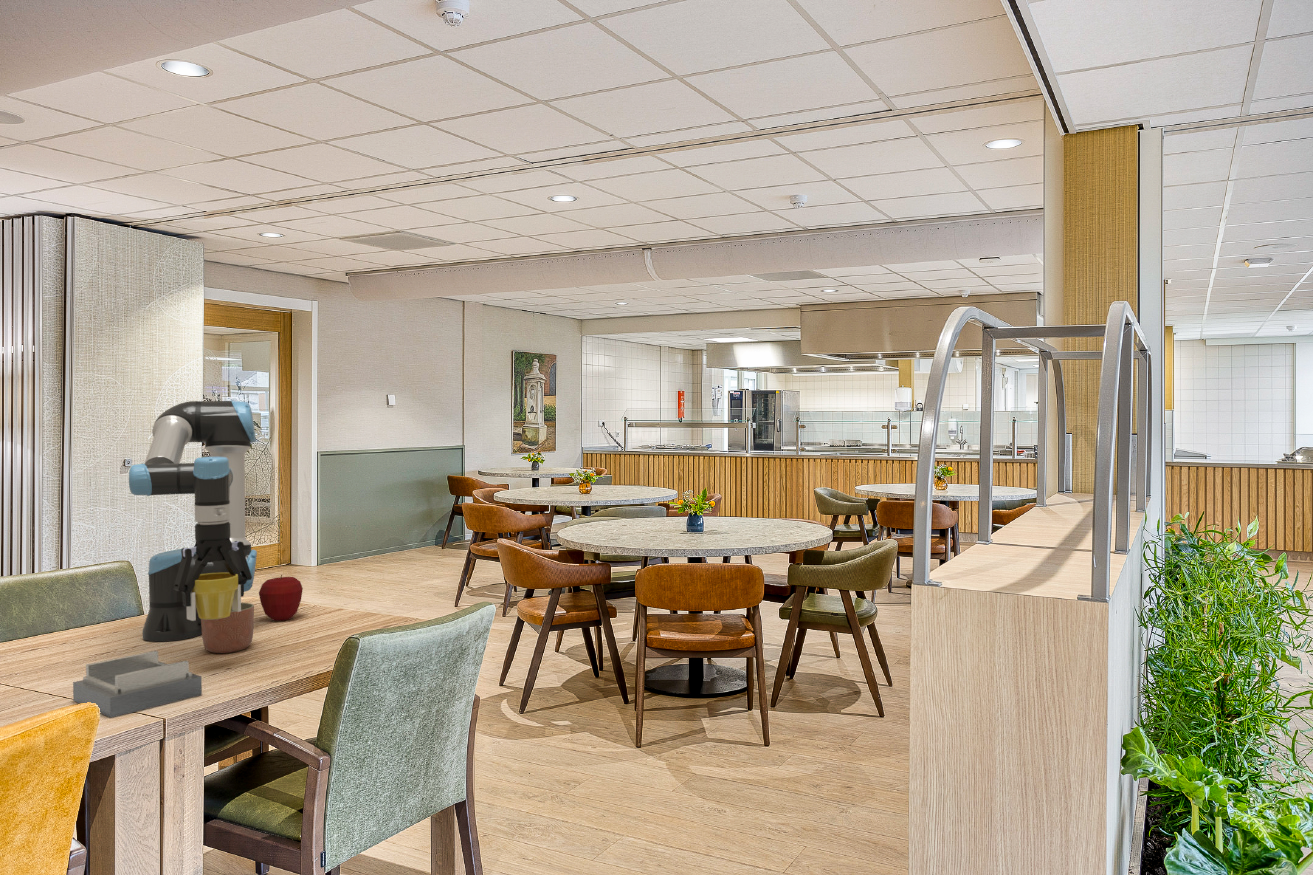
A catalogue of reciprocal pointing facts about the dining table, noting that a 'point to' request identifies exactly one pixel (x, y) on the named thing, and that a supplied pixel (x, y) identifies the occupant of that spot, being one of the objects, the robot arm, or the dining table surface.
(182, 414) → the robot arm
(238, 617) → the planter
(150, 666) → the grey square tray
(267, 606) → the apple
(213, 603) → the plant pot
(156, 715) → the dining table surface
